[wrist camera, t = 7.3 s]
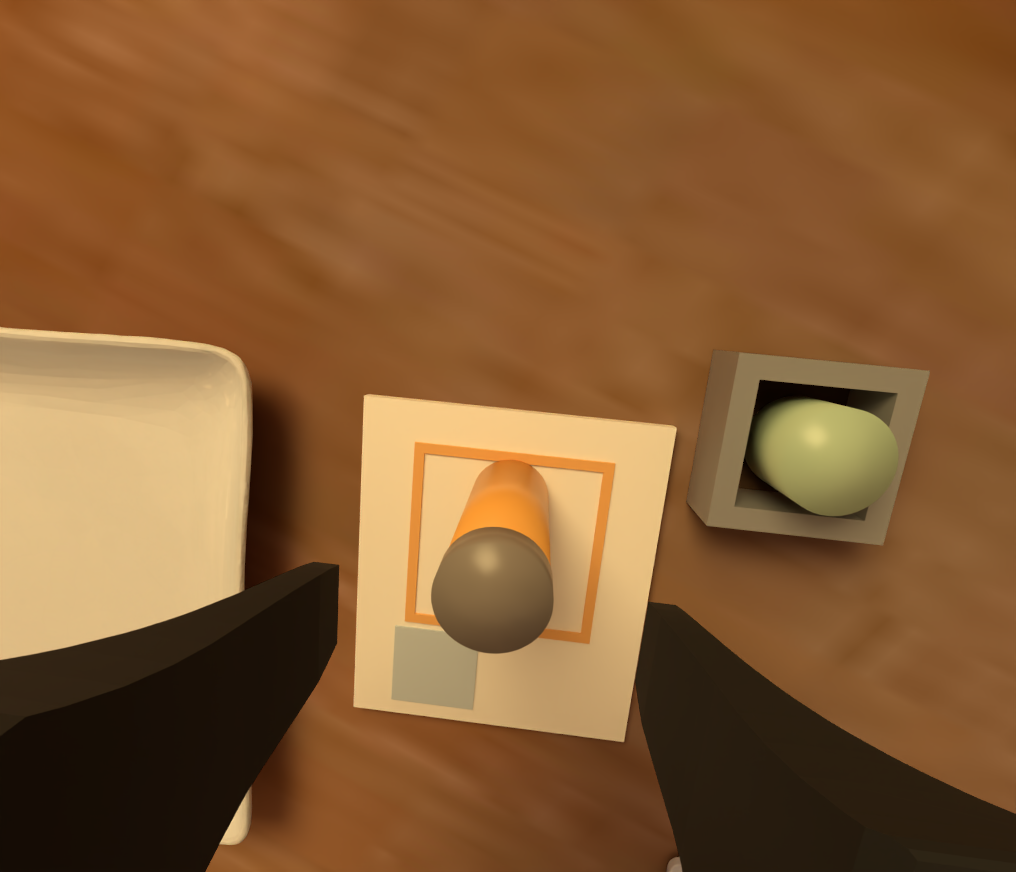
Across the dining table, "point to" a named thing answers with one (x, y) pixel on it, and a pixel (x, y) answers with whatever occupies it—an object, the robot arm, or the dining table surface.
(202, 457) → the salad plate
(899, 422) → the button housing
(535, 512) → the marker
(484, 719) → the sheet
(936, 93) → the dining table surface
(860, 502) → the button
